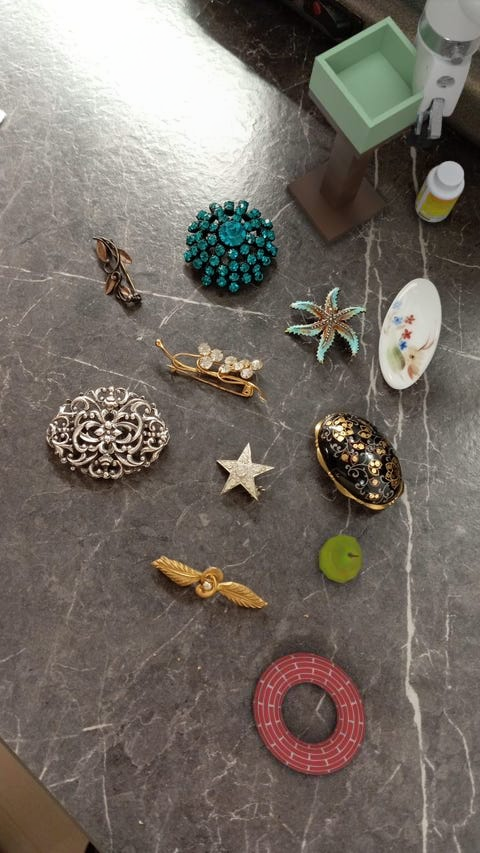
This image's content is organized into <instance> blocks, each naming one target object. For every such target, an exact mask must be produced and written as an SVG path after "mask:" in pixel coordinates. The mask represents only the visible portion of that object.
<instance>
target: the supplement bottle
mask: <svg viewBox="0 0 480 853" xmlns="http://www.w3.org/2000/svg"><path fill="white" fill-rule="evenodd" d="M464 189H465V172H464V169H463V167H462V166H461V165H460V164H459V163H458V162H455V161H452V160H448V161H447V160H446V161H444V162H442V163H440V164H438V165H436V166H434V167H433V168H432V169H431V170H429V172H428V173H427V175H426V178H425V180H424V181H423V183H422V186H421V188H420V189H419V192H418V193H417V195H416V198H415V202H414V209H415V211H416V214H417V215H418V216H419V217H420V218H421V219H422V220H424V221H426V222H428V223H438V222H439V223H440V222H441V221H443V220H445V219H446V218H447V217H448V216H449V215H450V212H451V211H452V209H453V207H454V206H455V204H456V202H457V201H458V199H459V198H460V196H461V195H462V193H463V191H464Z"/></svg>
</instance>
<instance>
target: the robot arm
mask: <svg viewBox="0 0 480 853" xmlns="http://www.w3.org/2000/svg"><path fill="white" fill-rule="evenodd" d="M412 45H413V46H414V47H415V49H416V50H417V60H416V64H415V68H414V73H413V80H412V92H413V96H414V95H415V94H417V93H419V92H420V91H421V93H422V95H423V96H424V98H423V100H422V102H421V104H420V107H419V109H418V112H417V114H418V117H417V120H416V125H413V126H412V128H411V129H410V130H409V132H408V135H407V137H406V139H405V147H407V148H415V149H425V148H429V147H430V146H431V145H432V143H433V140H437V139H440V138H441V135H442V124H443V123H442V122H443V117H450V116H452V114H453V113H454V110H455V108H456V106H457V104H458V101H459V98H460V96H461V94H462V92H463V89H464V86H465V83H466V80H467V78H468V76H469V75H468V74H469V71H470V68H471V64H472V58H473V55H474V54H475V53H476V52H477V51H478V50H479V48H480V0H426V2H425V5H424V7H423V9H422V13H421V15H420V18H419V21H418V24H417V32H416V34H415V37H414V39H413V43H412ZM430 103H431V108H429V106H430ZM423 115H429V123H423V122H424V121H423ZM422 121H423V122H422Z"/></svg>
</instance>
